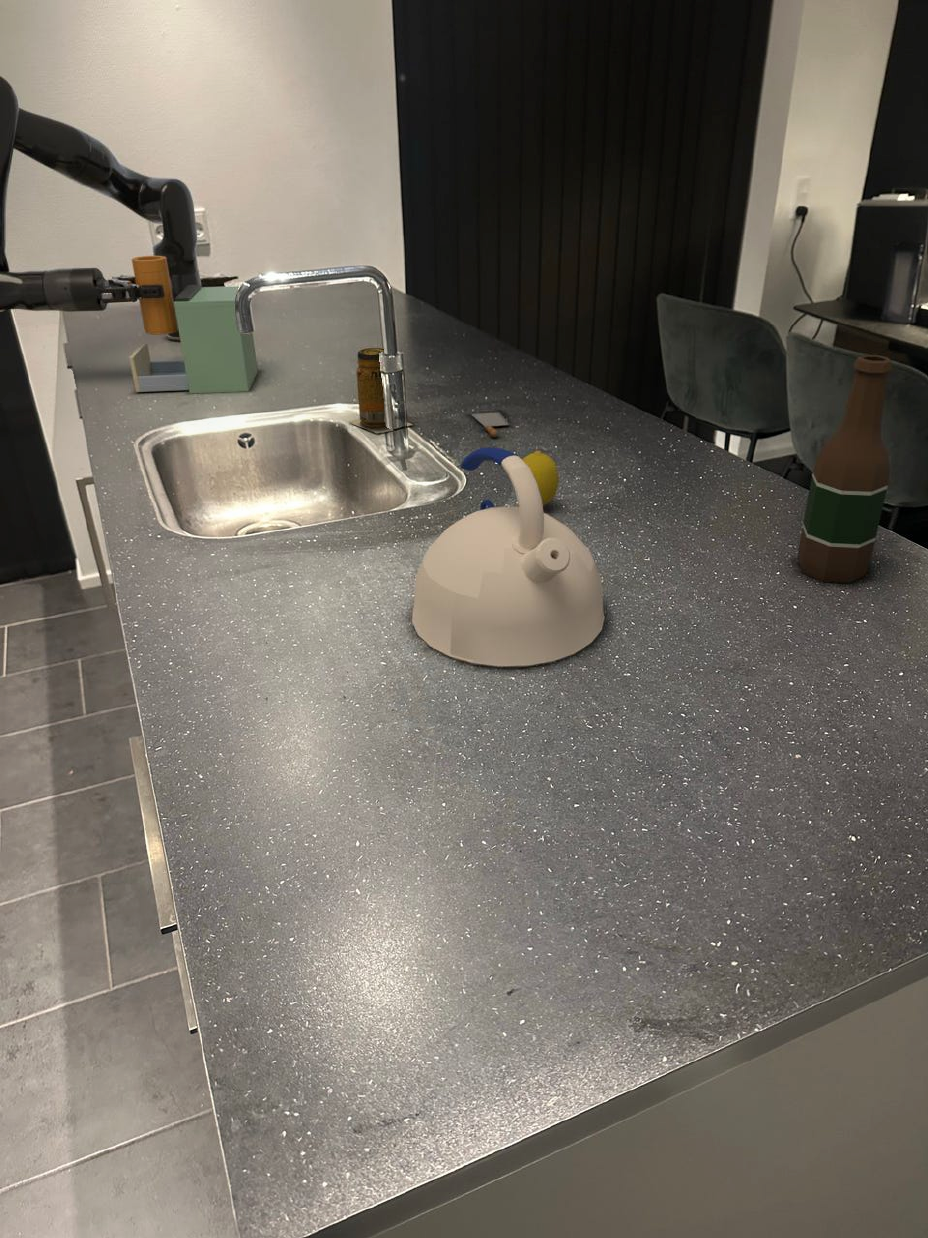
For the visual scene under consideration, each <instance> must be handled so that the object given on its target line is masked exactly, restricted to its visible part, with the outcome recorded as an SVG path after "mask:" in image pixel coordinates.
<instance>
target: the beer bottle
mask: <svg viewBox="0 0 928 1238" xmlns="http://www.w3.org/2000/svg"><path fill="white" fill-rule="evenodd" d="M852 367H853V368H854V369H855V371H854V374H853V378H852V381H851V386H850V389H849V393H848V397H847V401H846V405H845V408H844V412H843V415H842V419H841V421H840V423H839V427H838V428H837V431H836V433H834V434H833V435H832V436H831V437H830V438H829V439H828V440H827V441H826V442H825V443H824V445H823V446H822V448H821V449H820V451H819V453H817V456H816V459H815V463H814V466H813V470H812V473H811V480H810V485H809V490H808V496H807V502H806V506H805V513H804V517H803V523H802V528H801V533H800V539H799V543H798V552H797V561H798V563H799V566H800V570H801V572H802V574H804V575H806V576H809V577H811V578H814V579H816V580H818V581H820V582H824V583H837V584H838V583H839V584H851V583H852V582H855V581H857V580H859V579H861V578H863V577H865V576H866V574H867V573H868V570H869V566H870V563H871V559H872V557H873V556H872V555H873V551H874V547H875V542H876V538H877V534H878V529H879V527H880V526H879V525H880V521H881V516H882V512H883V507H884V503H885V499H886V495H887V492H888V486H889V480H890V473H891V465H890V459H889V453H888V451H887V449H886V447H885V444H884V442H883V440H882V437H881V436H882V420H883V414H884V406H885V399H886V393H887V387H888V379H889V374H890V373H891V372H893V371H894V368H893V360H891V359H890V357H887V356H884V355H879V354H865V355H861V356H857V357H856V359H855V360H854V363H853V365H852Z"/></svg>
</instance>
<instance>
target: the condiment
mask: <svg viewBox="0 0 928 1238" xmlns="http://www.w3.org/2000/svg"><path fill="white" fill-rule="evenodd" d="M384 349H385V348H382V347H369V348H368V347H367V348H363V349H360V350H359V351H358V352H357V364H358V366H357V368H356V383H357V385H356V387H357V397H358V398H357V399H358V413H359V419H355V420H351V421H349V424H351V425H354V426H356V427H359V428H362V429H365V430H367V431H369V432H373V433H375V434H382V433H387V432H393V431H394V430H393V429H389V428H387V427H386V425H385V422H384V398H383V386H382V378H381V372H380V362H379V353H381V352H384ZM409 426H413V423H411V422H407V427H409Z"/></svg>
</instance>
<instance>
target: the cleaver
mask: <svg viewBox="0 0 928 1238" xmlns="http://www.w3.org/2000/svg"><path fill="white" fill-rule="evenodd" d="M470 415H471V416H472V418H474V419H475V420H476V421H478V422H479V424H481V425H482V426H483V427H484V429H485V431H487V433H488V434H489V436H490V437H491V438H493V439H494V438H497V437H498V436H499V432H498V430H497V429H495V428H494V427H500V426H509V425H510V423H509V422H508V420H506V418H505V417H504V415H502V414H501V413H500V412H499V411H497V412H481V413H471V414H470Z"/></svg>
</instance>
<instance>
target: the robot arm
mask: <svg viewBox="0 0 928 1238" xmlns="http://www.w3.org/2000/svg"><path fill="white" fill-rule="evenodd" d="M18 99H19V98H18V96H17V94H16V91H15V89H14V88H13V86H12V85H11V83H9V82H8V80H7V79H5V78H4V77H3V76H1V75H0V313H2V312H4V311H9V310H11V311H12V310H22V311H31V312H50V311H51V312H54V311H55V312H67V313H68V312H69V313H71V312H73V313H75V312H103V311H105V310H106V309H107V306H108V304H117V303H136V302H138V301H139V300H142V299H143V297H144V298H163V297H164V296H165V293H164V287H163V285H142V287H141V285H139V284H136V281H135V275H123V274H121V275H114V276H111V278H108V279H105V277H104V274H103V272H102V271H101V270H100V269H99V268H97V267H68V268H67V267H64V268H54V269H47V270H46V269H45V270H24V271H10V265H9V261H8V257H7V201H8V199H7V198H8V190H9V183H10V174H11V169H12V163H13V156H14V151H18V152H19V153H21V154H23V155H24V156H26V157H28V158H30V159H31V160H33V161H35V162H36V163H38V164H41V165H43V166H44V167H46V168H48V169H50V170H52V171H53V172H56V173H58V174H59V175H61V176H63V177H64V178H67V179H68V180H70V181H73V182H75V183H77V184H78V185H80V186H83V187H85V188H87V189H89V190H91V191H93V192H96V193H97V194H100V195H103V196H105V197H107V198H110V199H112V200H113V201H115V202H117V203H118V204H120V205H122V206H124V207H126V208H127V209H129V210H130V211H132V212H133V213H134V214H136V215H138V216H139V217H141V218H142V219H144V220H145V221H147V222H149V223H152V224H155V225H162V238H161V240H159V241H157V242H155V243H154V244H153V245H152V248H151V249H152V254H153V255H152V256H164V257H166V259H167V265H168V270H169V276H170V282H171V288H172V294H173V300H174V302H175V298H176V297H177V296H178V295H179V294H180V293H181V292H182V291H183V290H184V289H185V288H186V287H187V286H188V285H201V280H200V278H201V273H200V267H199V262H198V257H197V256H198V255H197V245H198V231H197V222H196V212H195V211H196V210H195V204H194V199H193V196H192V193H191V191H190V189H189V187H188V186H187V184H186V183H185V182H184V181H182V180H181V179H179V178H174V177H173V178H171V177H152V176H148V175H145V174H142V173H140V172H137V171H135V170H133V169H130V168H129V167H127V166H126V165H124V164H123V163H121V162H120V160H119V159H118V158H117V156H116V154H114V152H113V151H112V150H111V149H110V148H109V146H107V145H106V144H105V143H103V142H102V141H101V140H99V139H98V138H96V137H94V136H93V135H91V134H89V133H87V132H85V131H83V130H82V129H80V128H78V127H76V126H74V125H71V124H69V123H66V122H63V121H60V120H57V119H54V118H51V117H48V116H44V115H40V114H37V113H34V112H30V111H28V110H26V109H23V108H21V107H20V104H19V100H18ZM166 335H167V340H170V341H175V342H176V341H178V342H181V341H180V335H179V330H178V331H176V332H174V333H170V334H166Z"/></svg>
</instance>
